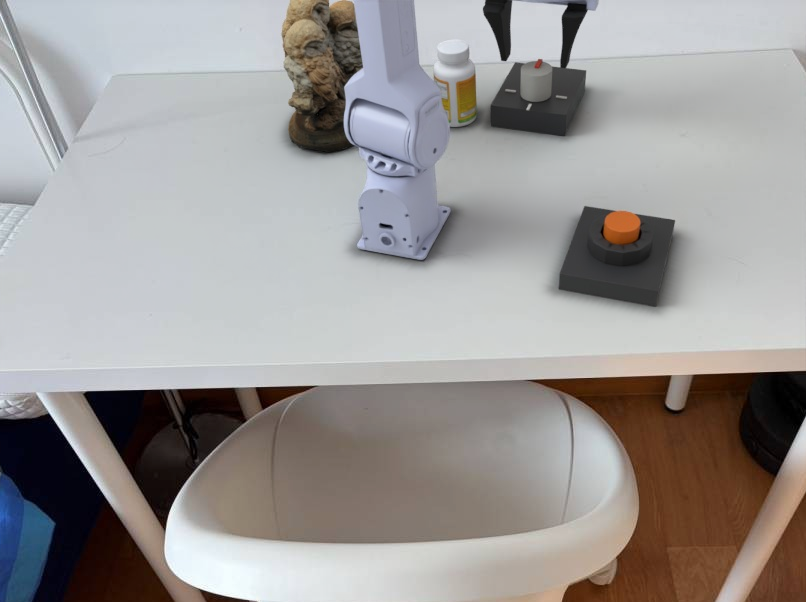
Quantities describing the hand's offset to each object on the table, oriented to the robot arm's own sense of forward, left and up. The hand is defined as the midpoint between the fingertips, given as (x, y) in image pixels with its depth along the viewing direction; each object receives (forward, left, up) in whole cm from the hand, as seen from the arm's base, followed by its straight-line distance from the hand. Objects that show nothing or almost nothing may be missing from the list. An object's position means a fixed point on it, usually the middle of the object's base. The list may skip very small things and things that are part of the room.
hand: (535, 60), depth 100 cm
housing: (-27, -16, -8) cm, 32 cm away
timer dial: (0, 0, -4) cm, 4 cm away
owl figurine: (-8, +25, -8) cm, 27 cm away
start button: (-27, -16, -4) cm, 32 cm away
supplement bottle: (-3, +10, -8) cm, 13 cm away
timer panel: (+2, 0, -8) cm, 8 cm away
